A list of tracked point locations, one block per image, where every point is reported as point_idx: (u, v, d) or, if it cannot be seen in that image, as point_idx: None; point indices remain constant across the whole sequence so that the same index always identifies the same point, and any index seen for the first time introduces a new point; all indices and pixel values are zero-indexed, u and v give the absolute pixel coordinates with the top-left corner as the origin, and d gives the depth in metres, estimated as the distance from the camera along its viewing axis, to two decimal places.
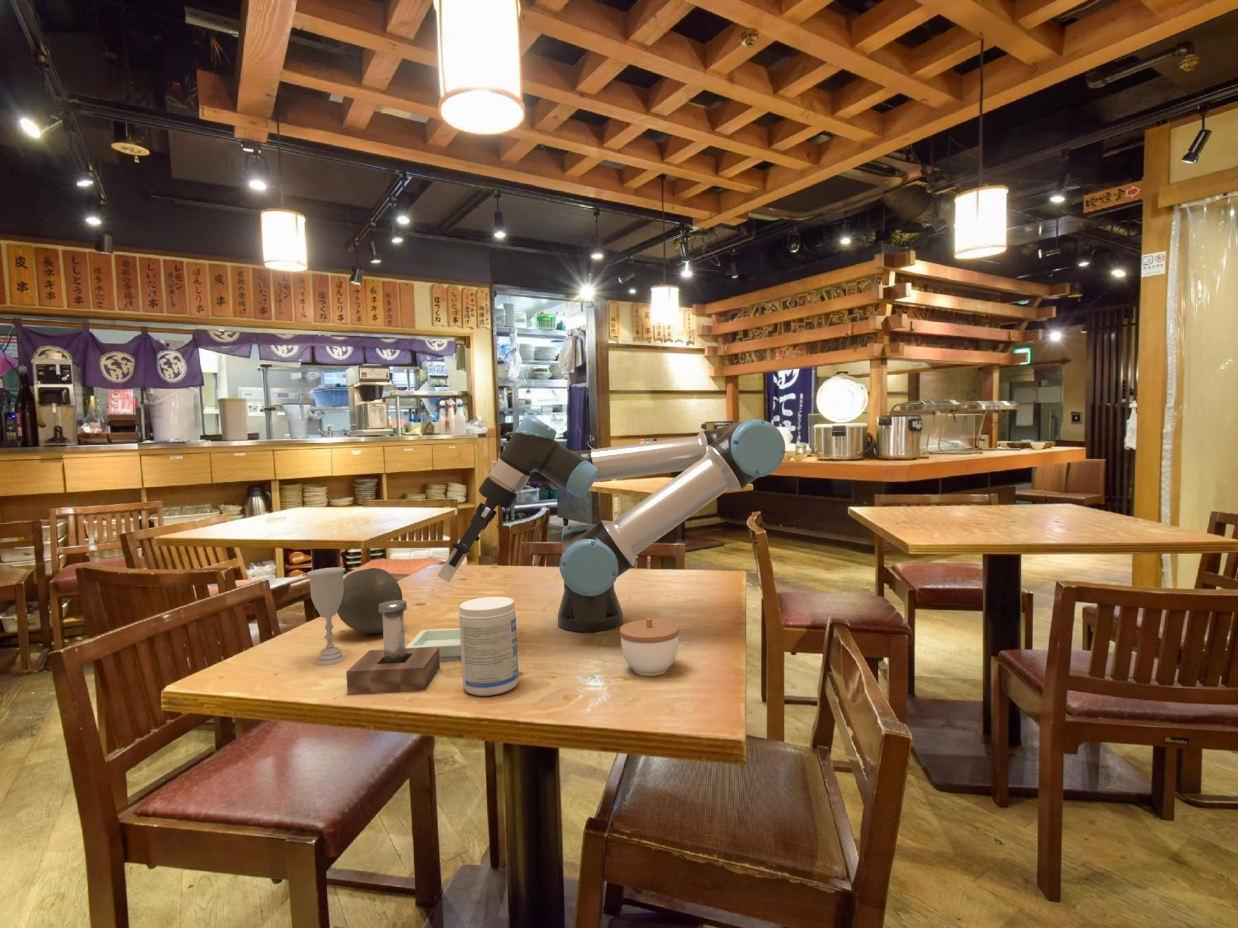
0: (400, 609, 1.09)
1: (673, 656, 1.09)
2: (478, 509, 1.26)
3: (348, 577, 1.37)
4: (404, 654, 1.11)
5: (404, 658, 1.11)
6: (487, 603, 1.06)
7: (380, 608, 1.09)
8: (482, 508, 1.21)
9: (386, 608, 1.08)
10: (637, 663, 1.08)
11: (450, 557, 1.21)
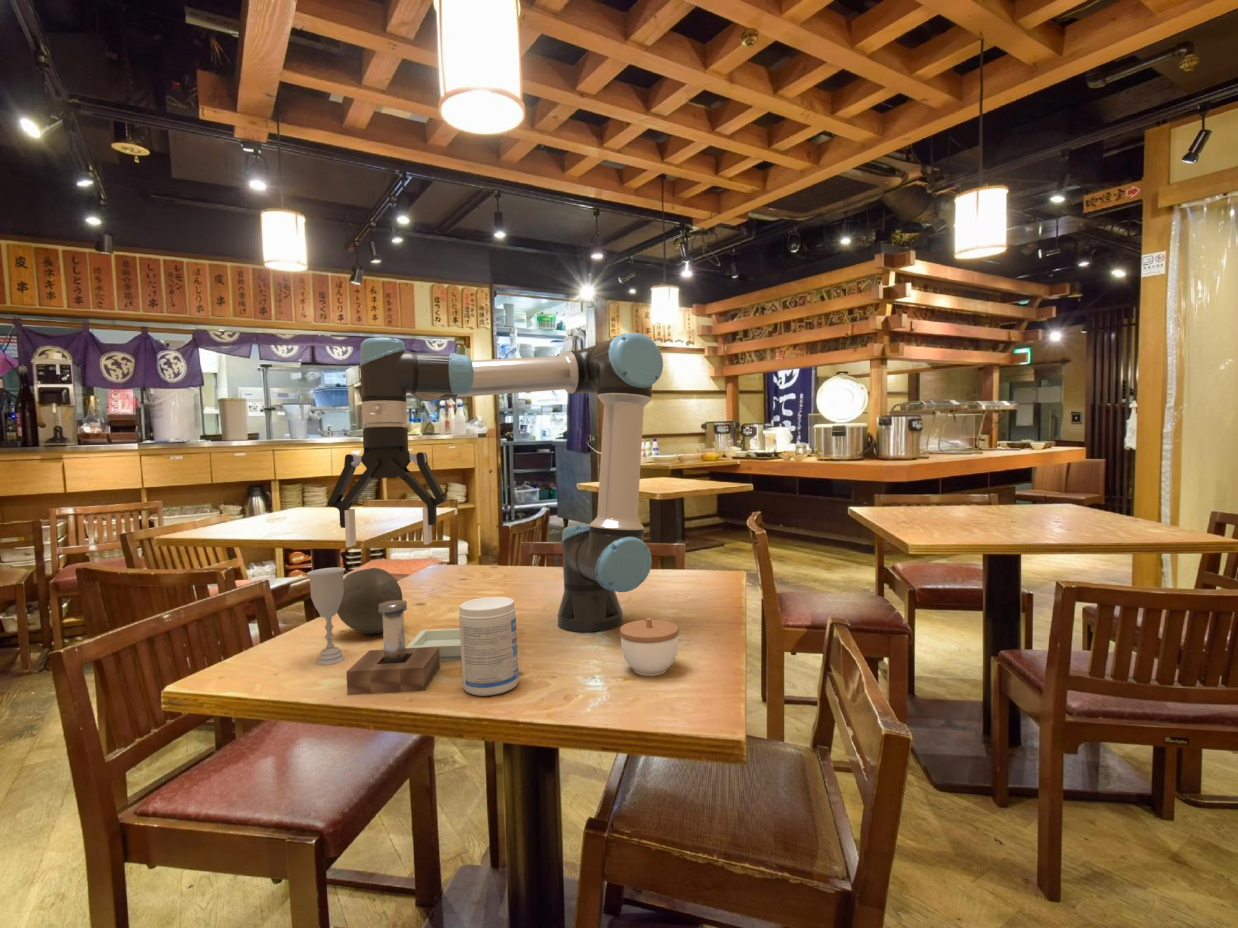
0: (400, 609, 1.09)
1: (673, 656, 1.09)
2: (397, 463, 1.09)
3: (348, 577, 1.37)
4: (404, 654, 1.11)
5: (404, 658, 1.11)
6: (487, 603, 1.06)
7: (380, 608, 1.09)
8: (423, 455, 1.09)
9: (386, 608, 1.08)
10: (637, 663, 1.08)
11: (427, 519, 1.10)
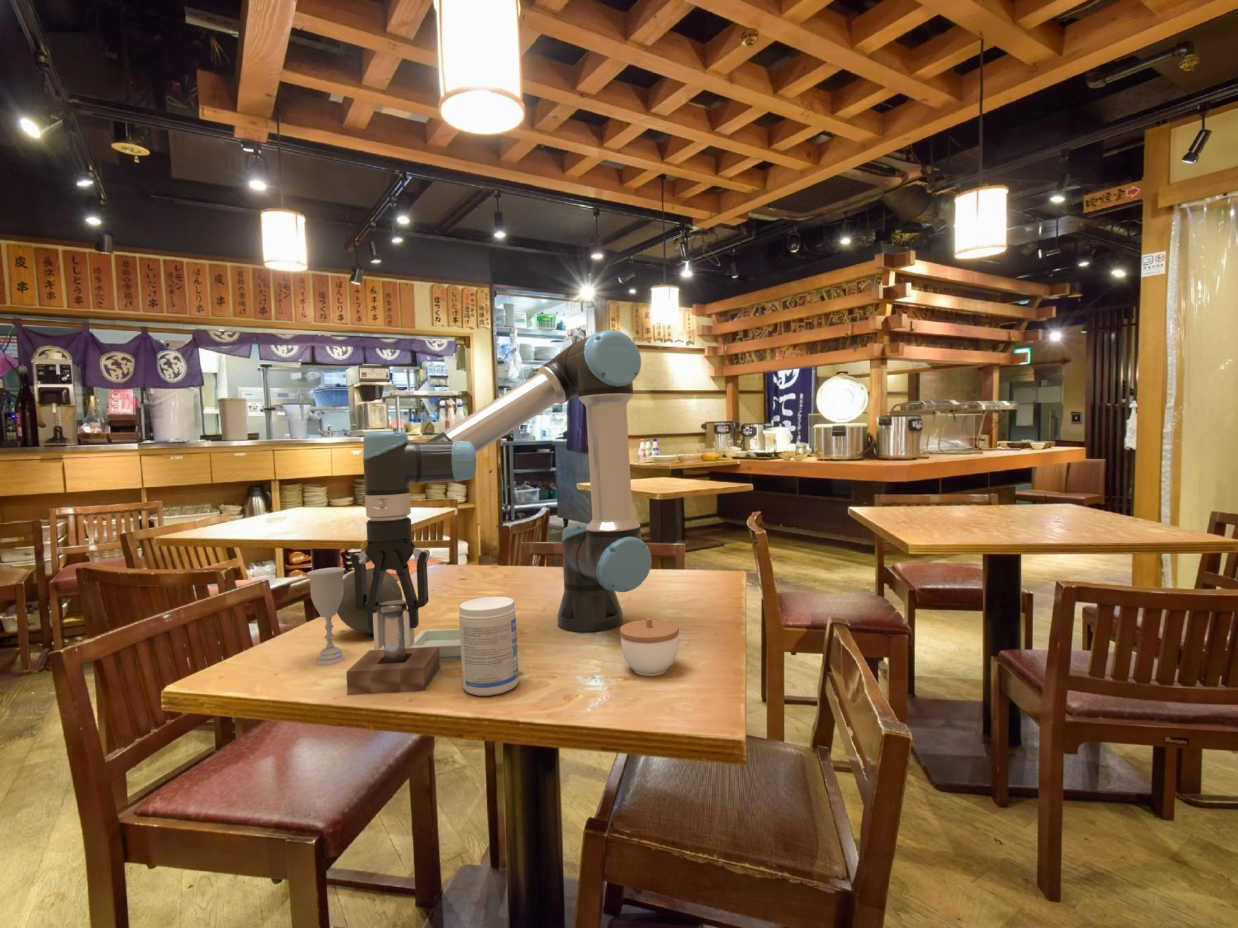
0: (400, 609, 1.09)
1: (673, 656, 1.09)
2: (399, 558, 1.09)
3: (348, 577, 1.37)
4: (404, 654, 1.11)
5: (404, 658, 1.11)
6: (487, 603, 1.06)
7: (380, 608, 1.09)
8: (426, 556, 1.10)
9: (386, 608, 1.08)
10: (637, 663, 1.08)
11: (409, 622, 1.10)
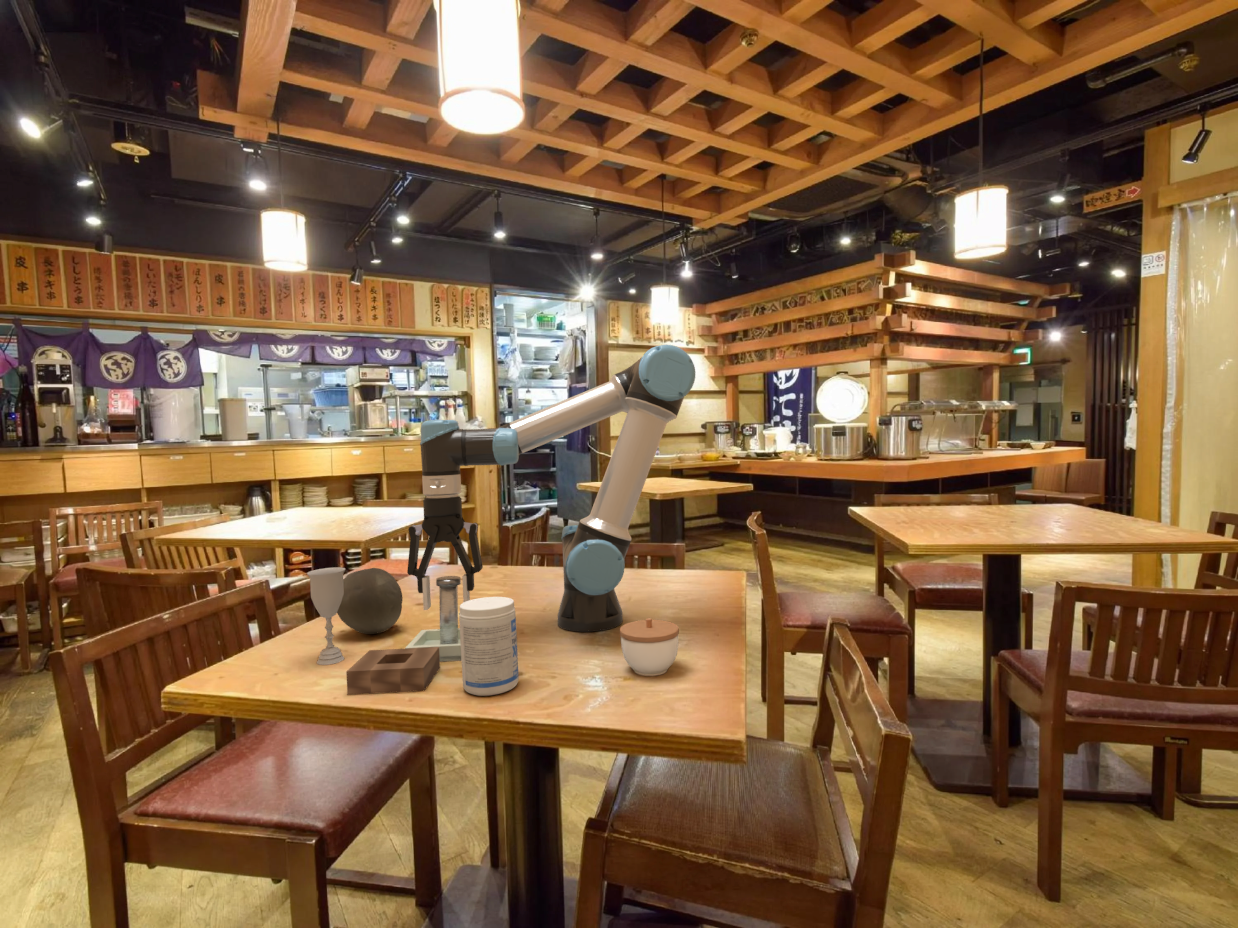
0: (455, 583, 1.25)
1: (673, 656, 1.09)
2: (452, 531, 1.24)
3: (348, 577, 1.37)
4: (457, 623, 1.26)
5: (457, 627, 1.26)
6: (487, 603, 1.06)
7: (438, 582, 1.24)
8: (476, 527, 1.25)
9: (444, 582, 1.24)
10: (637, 663, 1.08)
11: (466, 586, 1.25)
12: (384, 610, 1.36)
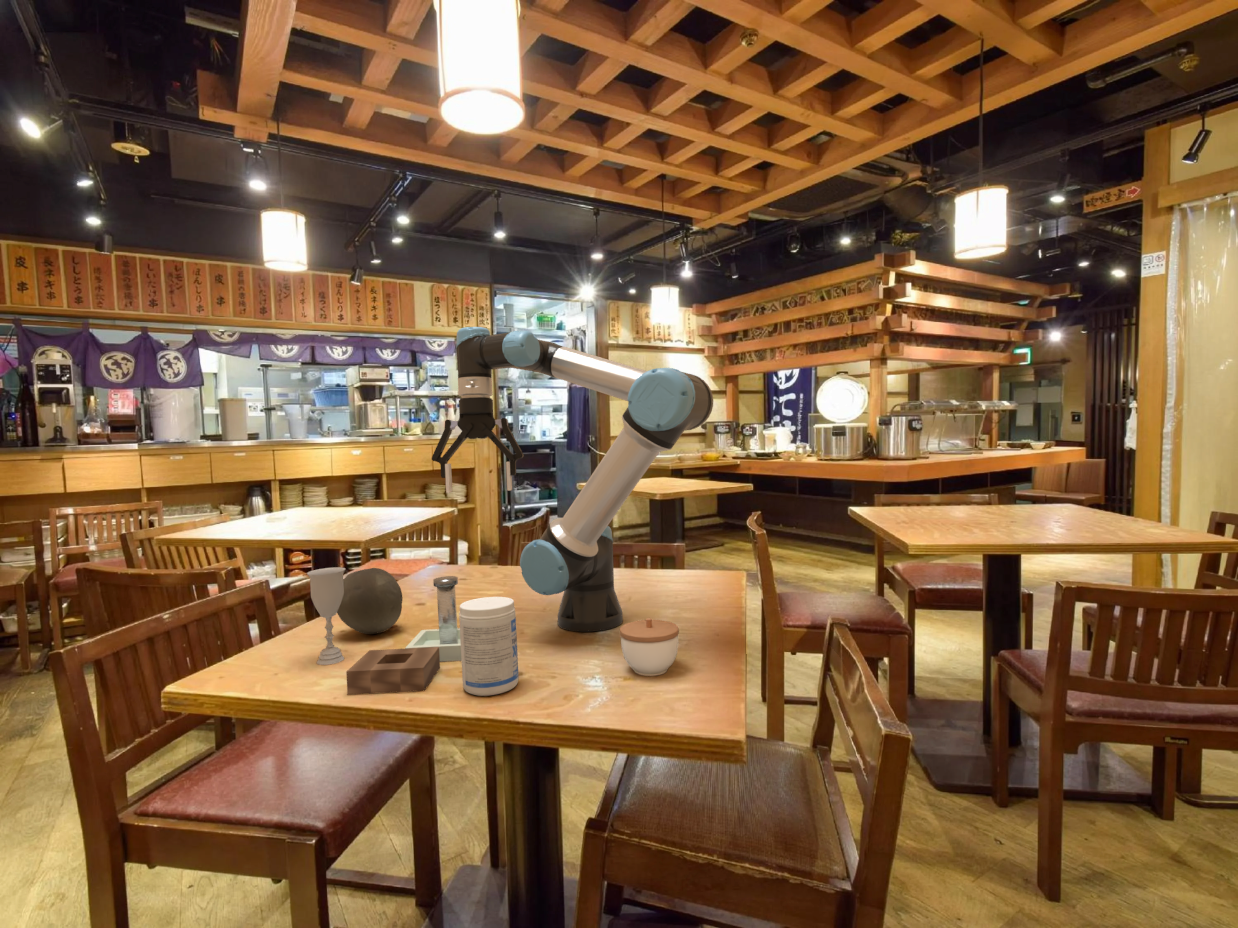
0: (452, 583, 1.25)
1: (673, 656, 1.09)
2: (486, 426, 1.38)
3: (348, 577, 1.37)
4: (456, 623, 1.26)
5: (456, 626, 1.26)
6: (487, 603, 1.06)
7: (435, 582, 1.24)
8: (506, 420, 1.39)
9: (440, 582, 1.24)
10: (637, 663, 1.08)
11: (510, 470, 1.39)
12: (384, 610, 1.36)
